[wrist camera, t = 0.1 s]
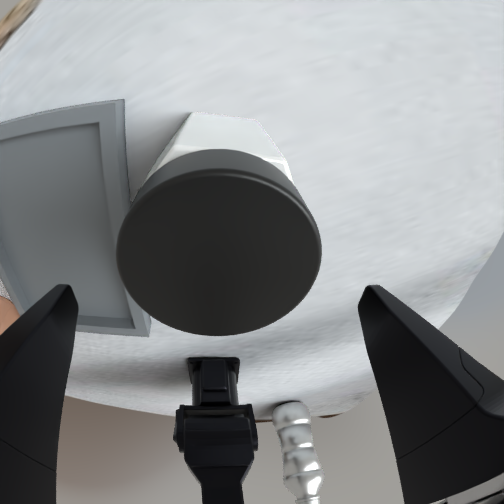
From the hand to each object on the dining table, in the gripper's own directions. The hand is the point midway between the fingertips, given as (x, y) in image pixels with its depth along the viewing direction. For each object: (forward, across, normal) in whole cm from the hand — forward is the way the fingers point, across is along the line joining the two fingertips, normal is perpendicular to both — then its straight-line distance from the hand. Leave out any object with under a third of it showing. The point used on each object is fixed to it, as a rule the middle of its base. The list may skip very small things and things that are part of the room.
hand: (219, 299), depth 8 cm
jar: (+15, 0, +1) cm, 15 cm away
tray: (+15, +15, +7) cm, 22 cm away
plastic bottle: (+15, -13, +42) cm, 47 cm away
